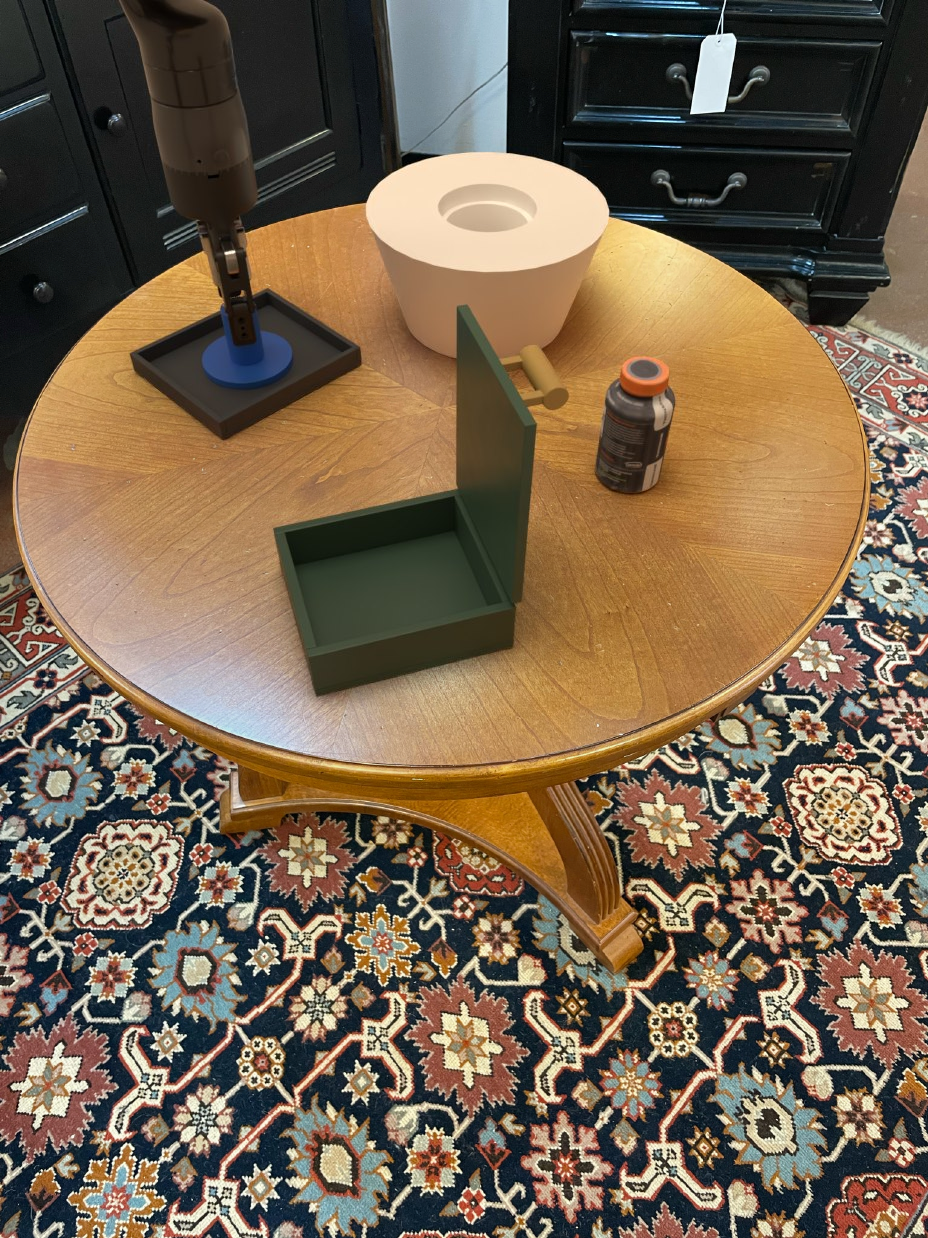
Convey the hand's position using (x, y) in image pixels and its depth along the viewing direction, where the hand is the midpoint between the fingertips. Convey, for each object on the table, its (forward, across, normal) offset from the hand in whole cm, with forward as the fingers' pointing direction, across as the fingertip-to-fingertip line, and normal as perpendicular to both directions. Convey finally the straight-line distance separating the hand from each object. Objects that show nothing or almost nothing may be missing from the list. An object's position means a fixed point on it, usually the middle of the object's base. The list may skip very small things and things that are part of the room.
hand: (237, 318), depth 93 cm
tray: (+6, 0, 0) cm, 6 cm away
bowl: (+6, -2, +26) cm, 27 cm away
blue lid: (+5, 0, 0) cm, 5 cm away
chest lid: (-8, +35, +13) cm, 38 cm away
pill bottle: (+6, +26, +30) cm, 40 cm away
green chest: (+6, +35, +6) cm, 36 cm away
